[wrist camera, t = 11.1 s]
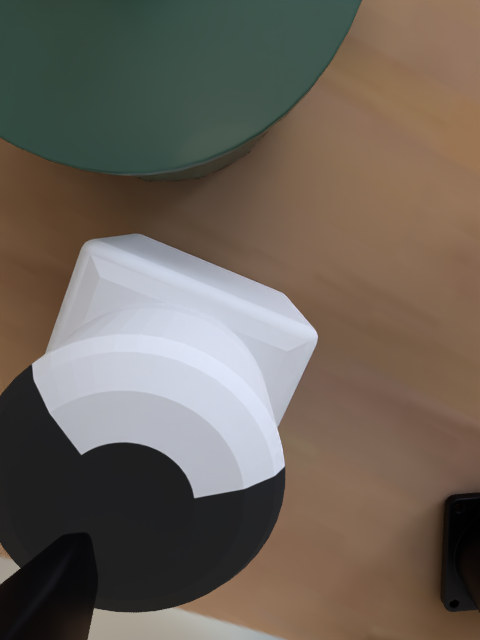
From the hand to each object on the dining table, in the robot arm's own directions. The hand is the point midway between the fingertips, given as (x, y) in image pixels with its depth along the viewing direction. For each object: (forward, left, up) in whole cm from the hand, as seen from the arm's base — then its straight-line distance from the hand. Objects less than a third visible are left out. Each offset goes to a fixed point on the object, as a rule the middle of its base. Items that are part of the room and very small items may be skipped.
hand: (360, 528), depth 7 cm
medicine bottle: (0, +4, -13) cm, 14 cm away
